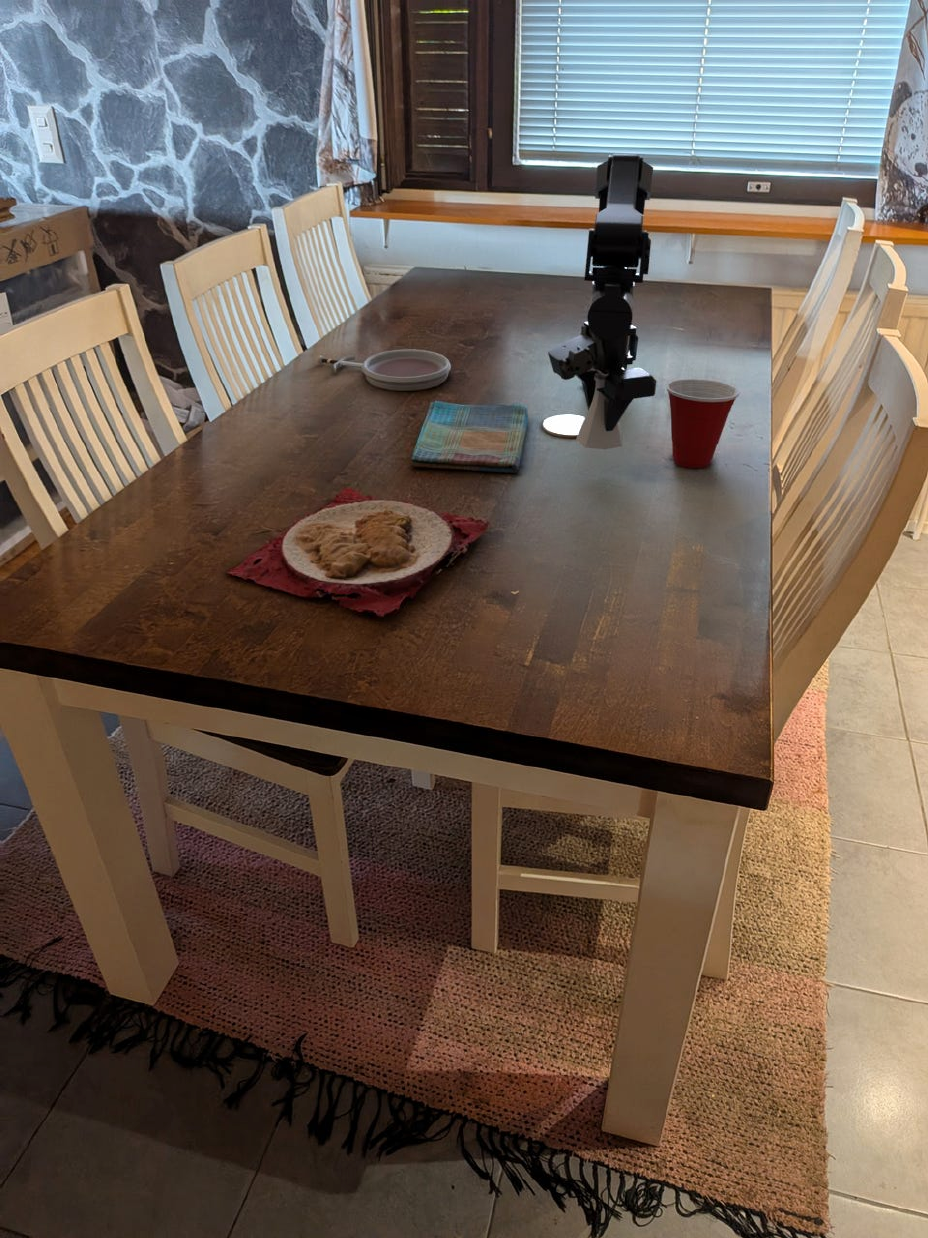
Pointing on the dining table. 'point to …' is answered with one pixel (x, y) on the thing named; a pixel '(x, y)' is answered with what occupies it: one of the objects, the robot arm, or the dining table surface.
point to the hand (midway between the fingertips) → (600, 424)
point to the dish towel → (472, 437)
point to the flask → (598, 424)
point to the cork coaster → (564, 425)
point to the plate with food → (361, 551)
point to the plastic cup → (698, 418)
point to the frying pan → (400, 369)
